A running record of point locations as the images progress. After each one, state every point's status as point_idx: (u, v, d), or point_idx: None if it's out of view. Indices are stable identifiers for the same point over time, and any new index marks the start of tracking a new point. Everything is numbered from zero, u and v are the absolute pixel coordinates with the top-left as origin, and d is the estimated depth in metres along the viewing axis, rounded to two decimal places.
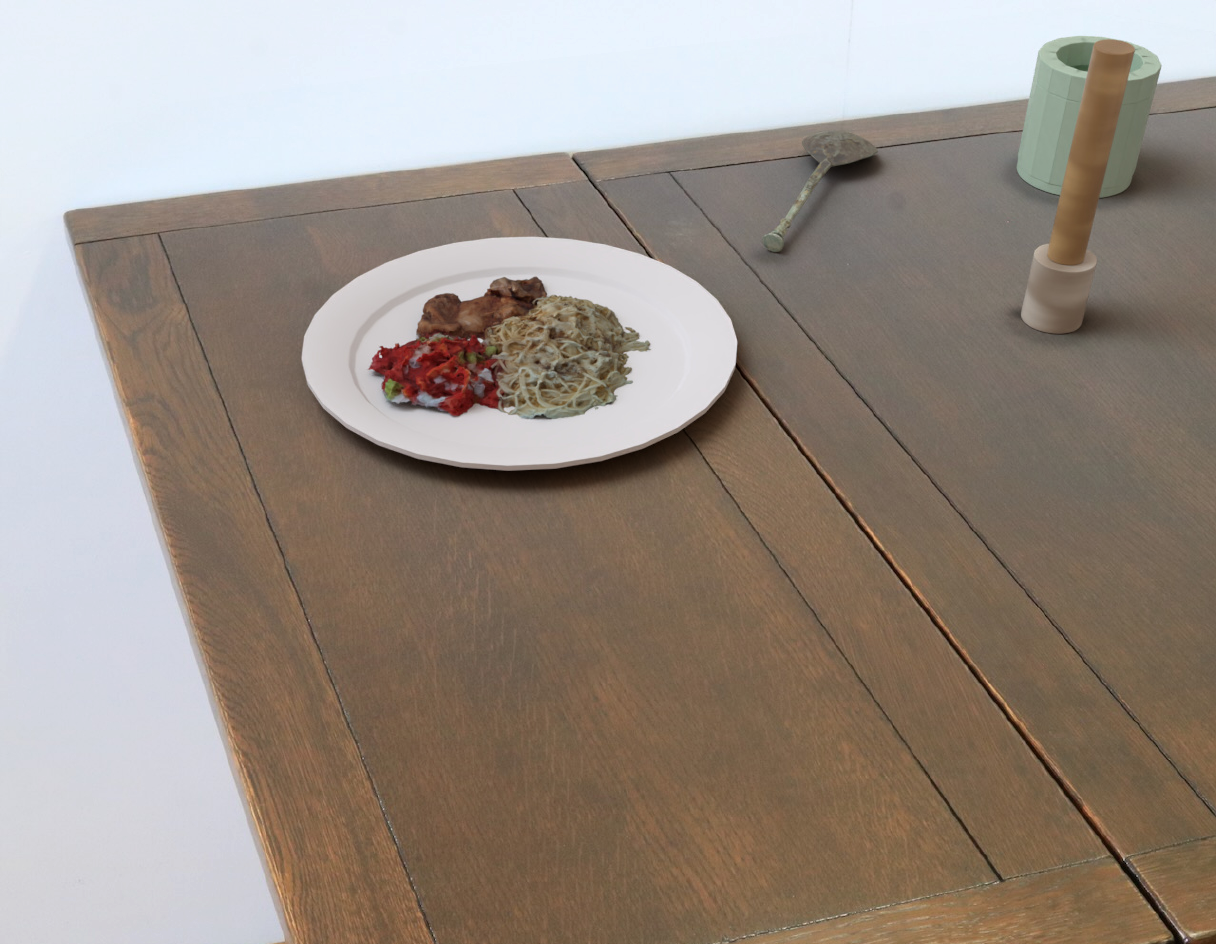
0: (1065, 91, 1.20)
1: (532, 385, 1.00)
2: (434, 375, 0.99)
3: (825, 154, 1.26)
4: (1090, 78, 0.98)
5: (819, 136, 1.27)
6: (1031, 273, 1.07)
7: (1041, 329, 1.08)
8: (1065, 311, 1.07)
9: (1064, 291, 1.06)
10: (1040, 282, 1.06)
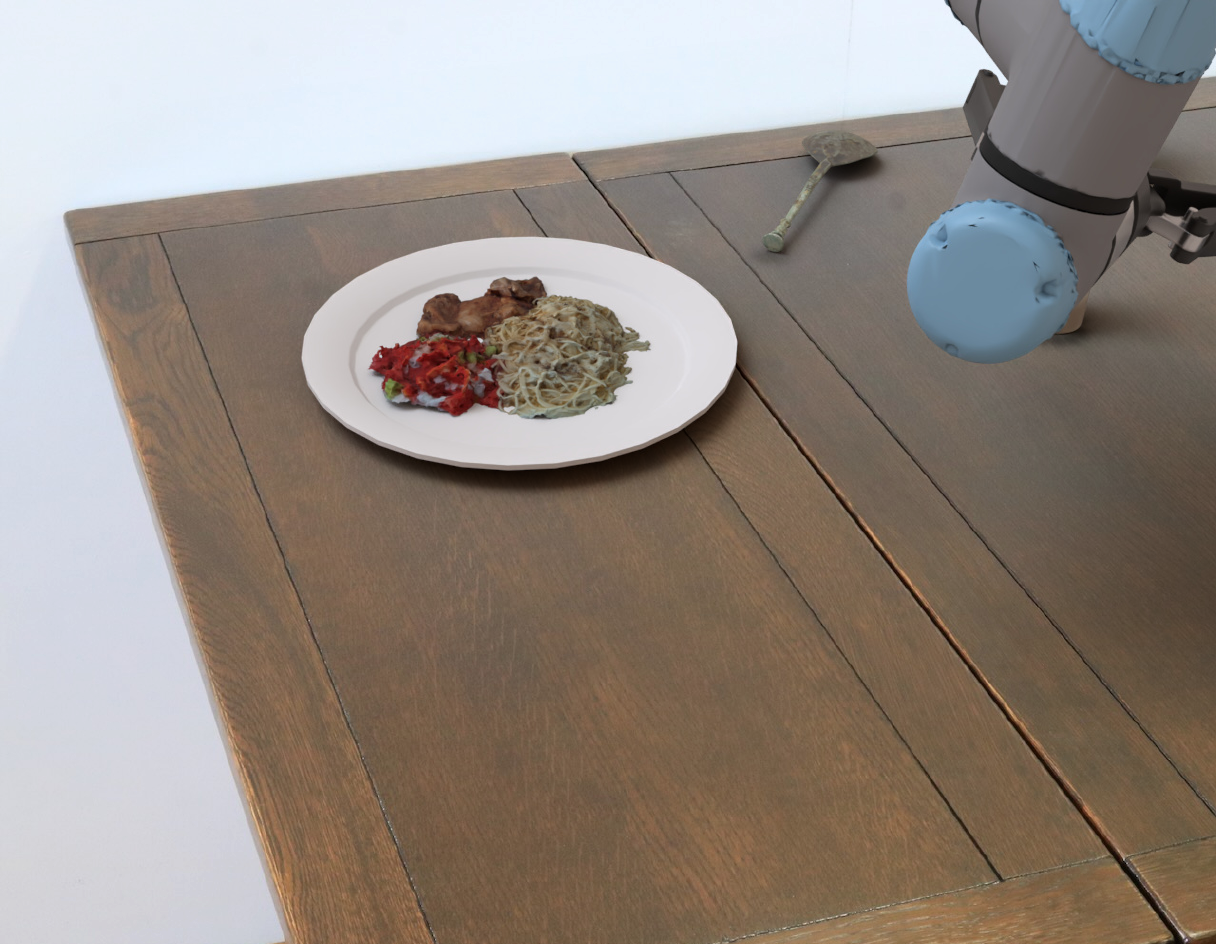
0: None
1: (532, 385, 1.00)
2: (434, 375, 0.99)
3: (825, 154, 1.26)
4: None
5: (819, 136, 1.27)
6: None
7: None
8: None
9: None
10: None
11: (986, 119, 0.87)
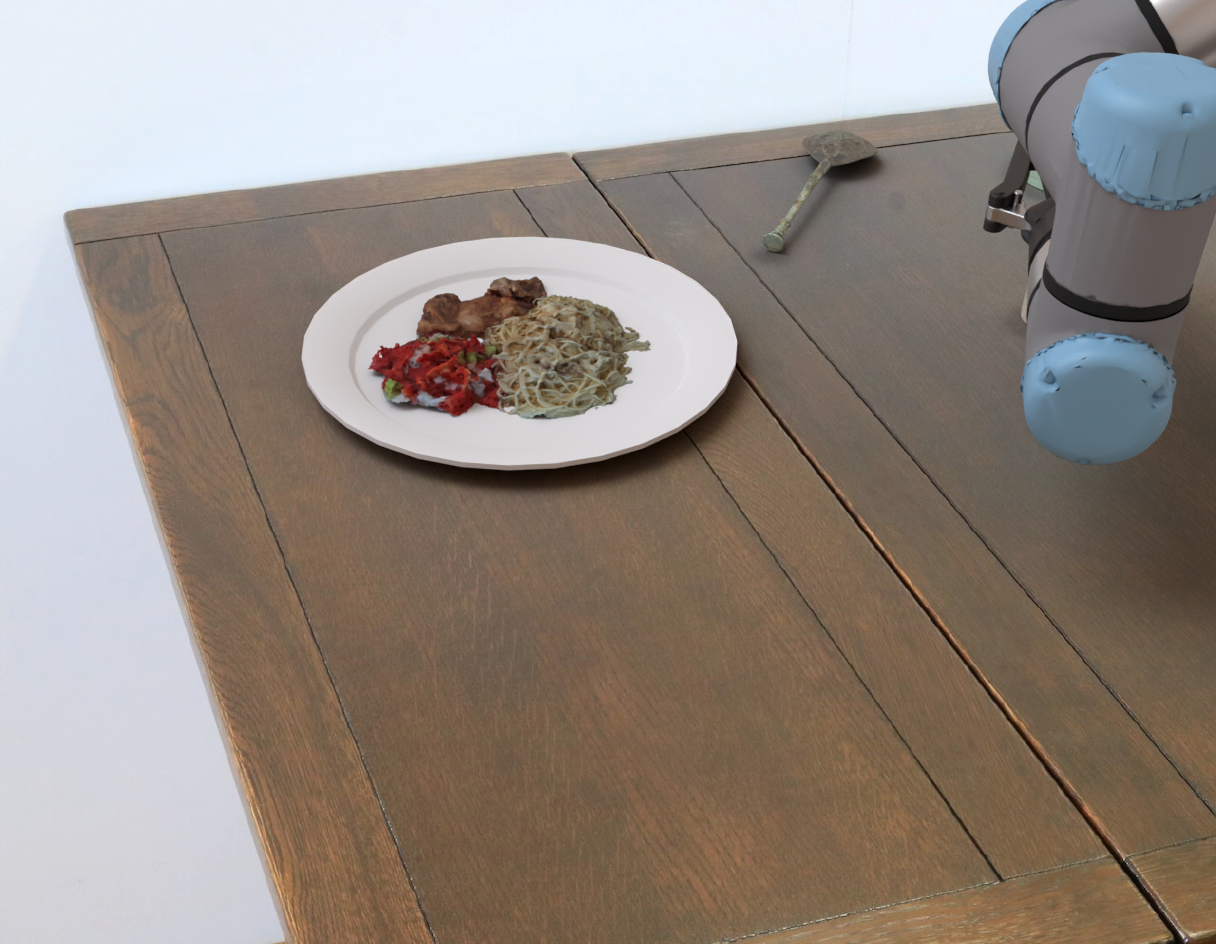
0: None
1: (532, 385, 1.00)
2: (434, 375, 0.99)
3: (825, 154, 1.26)
4: None
5: (819, 136, 1.27)
6: None
7: None
8: None
9: None
10: None
11: None
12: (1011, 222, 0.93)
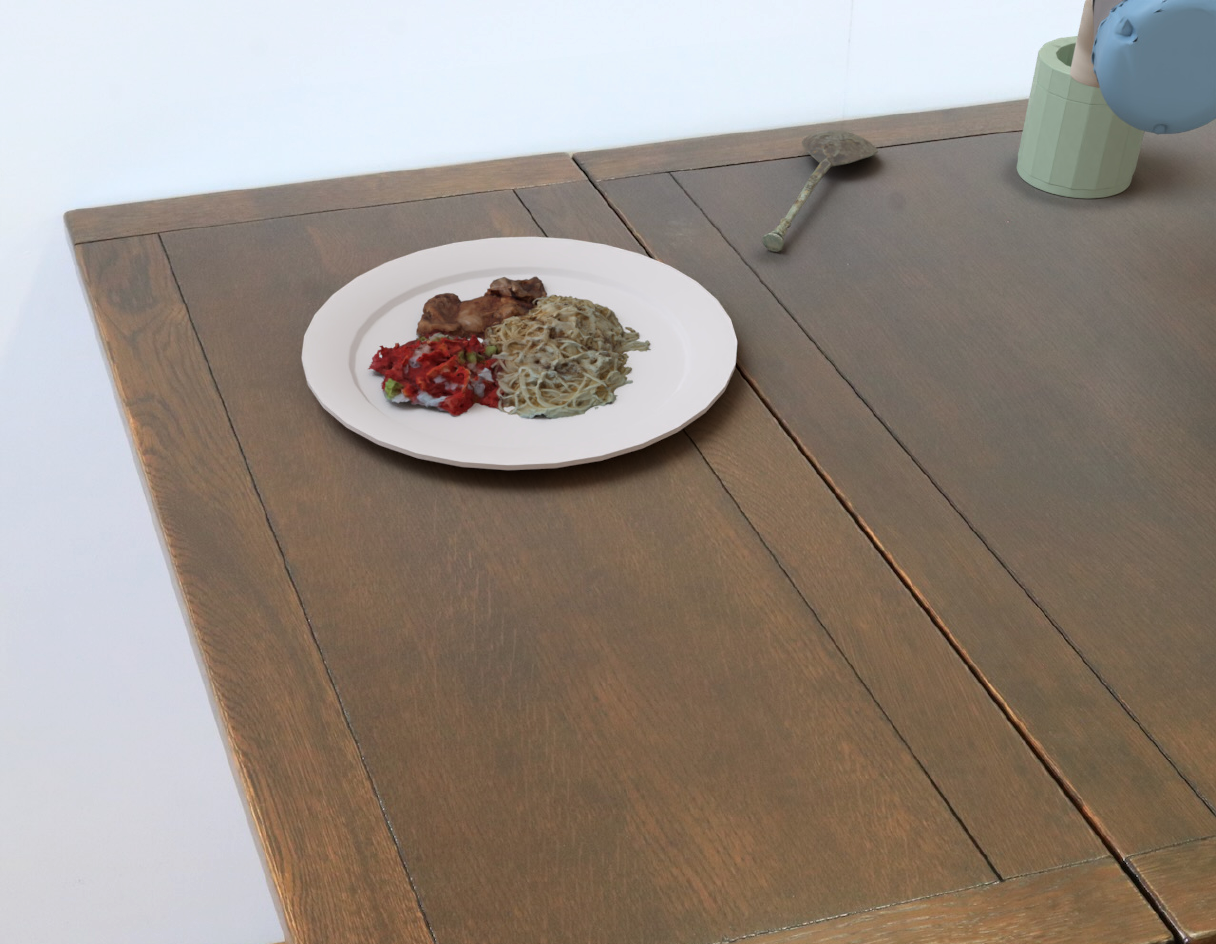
0: (1065, 91, 1.20)
1: (532, 385, 1.00)
2: (434, 375, 0.99)
3: (825, 154, 1.26)
4: None
5: (819, 136, 1.27)
6: (1082, 24, 1.04)
7: (1092, 84, 1.05)
8: None
9: None
10: (1091, 31, 1.03)
11: None
12: None
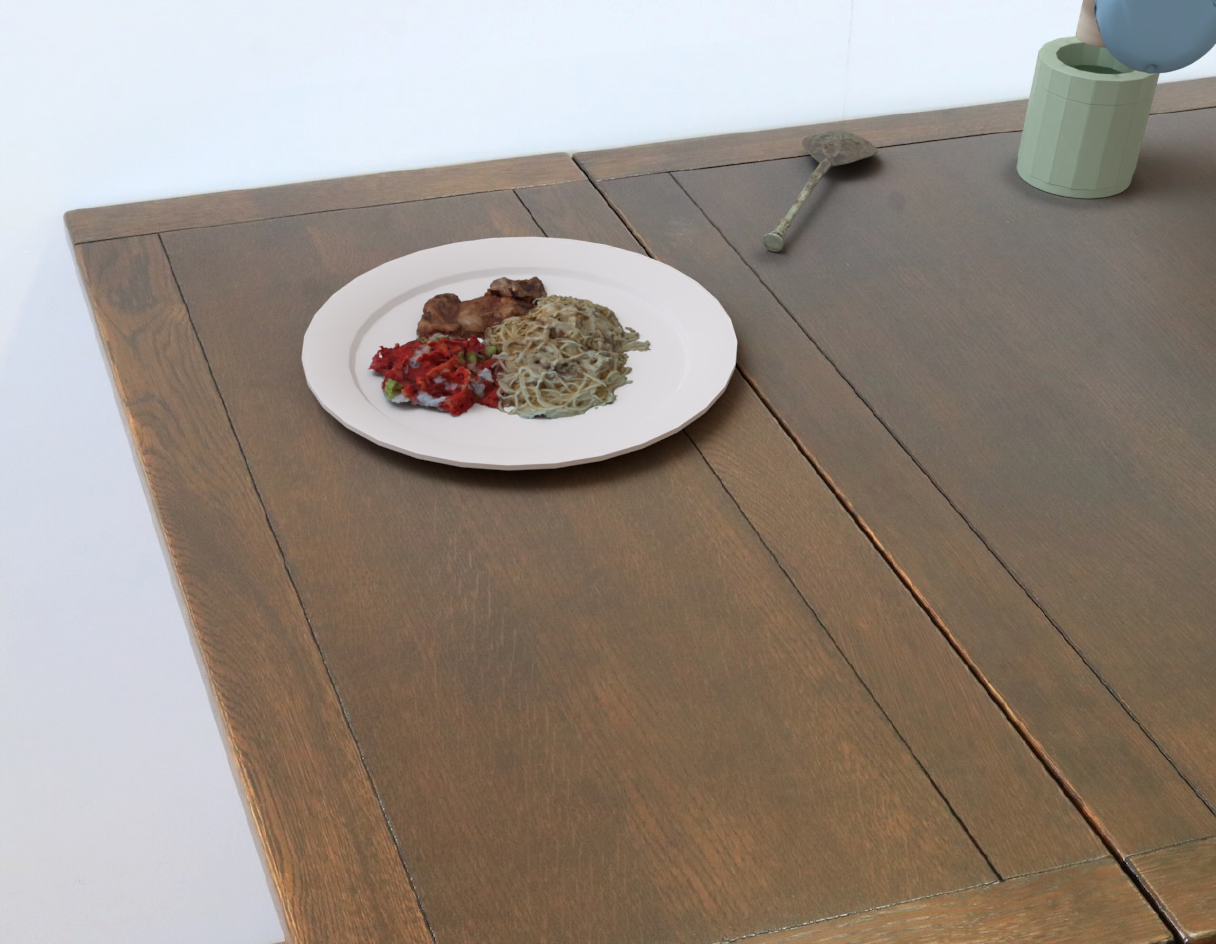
0: (1065, 91, 1.20)
1: (532, 385, 1.00)
2: (434, 375, 0.99)
3: (825, 154, 1.26)
4: None
5: (819, 136, 1.27)
6: None
7: (1095, 44, 1.19)
8: None
9: None
10: None
11: None
12: None
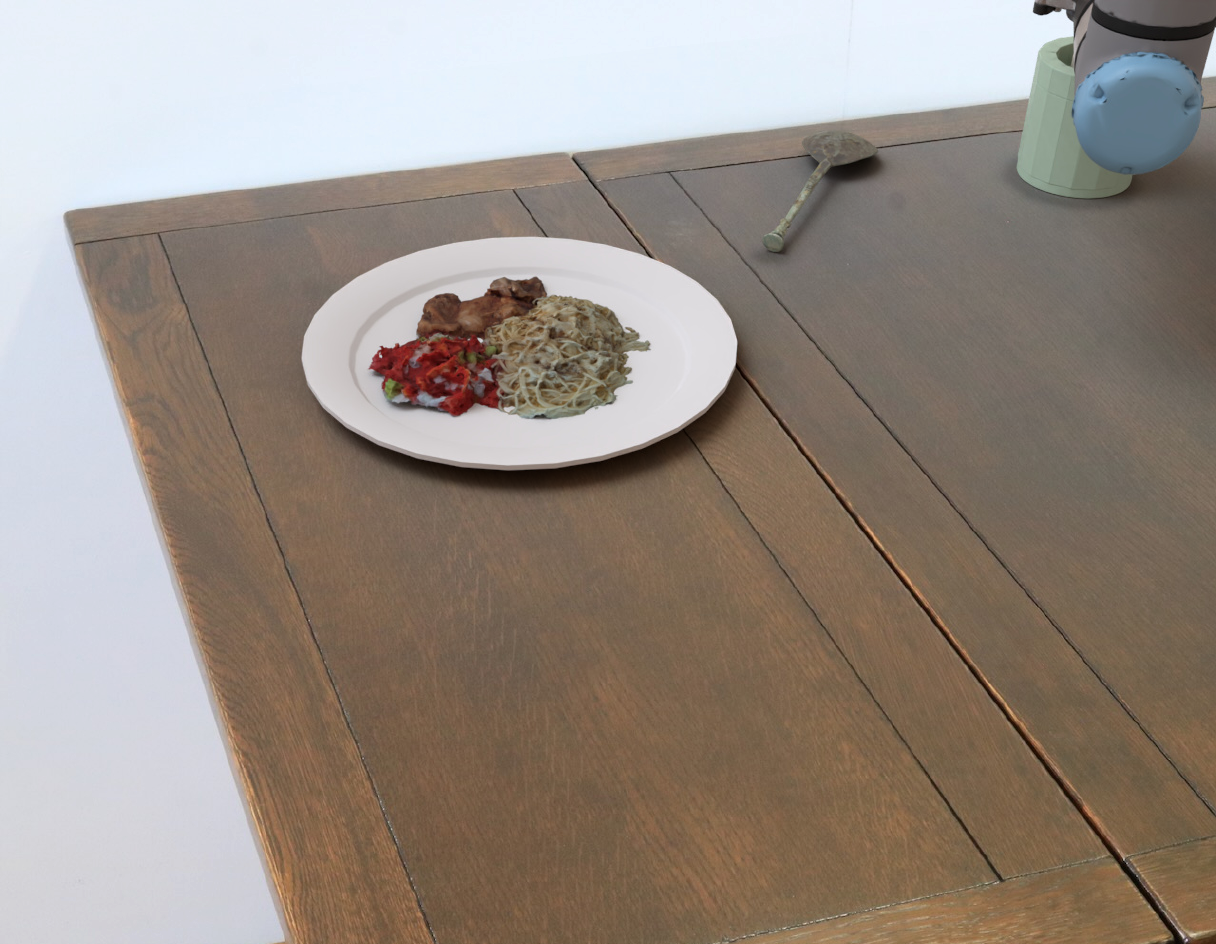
0: (1065, 91, 1.20)
1: (532, 385, 1.00)
2: (434, 375, 0.99)
3: (825, 154, 1.26)
4: None
5: (819, 136, 1.27)
6: None
7: None
8: None
9: None
10: None
11: None
12: (1057, 3, 1.09)
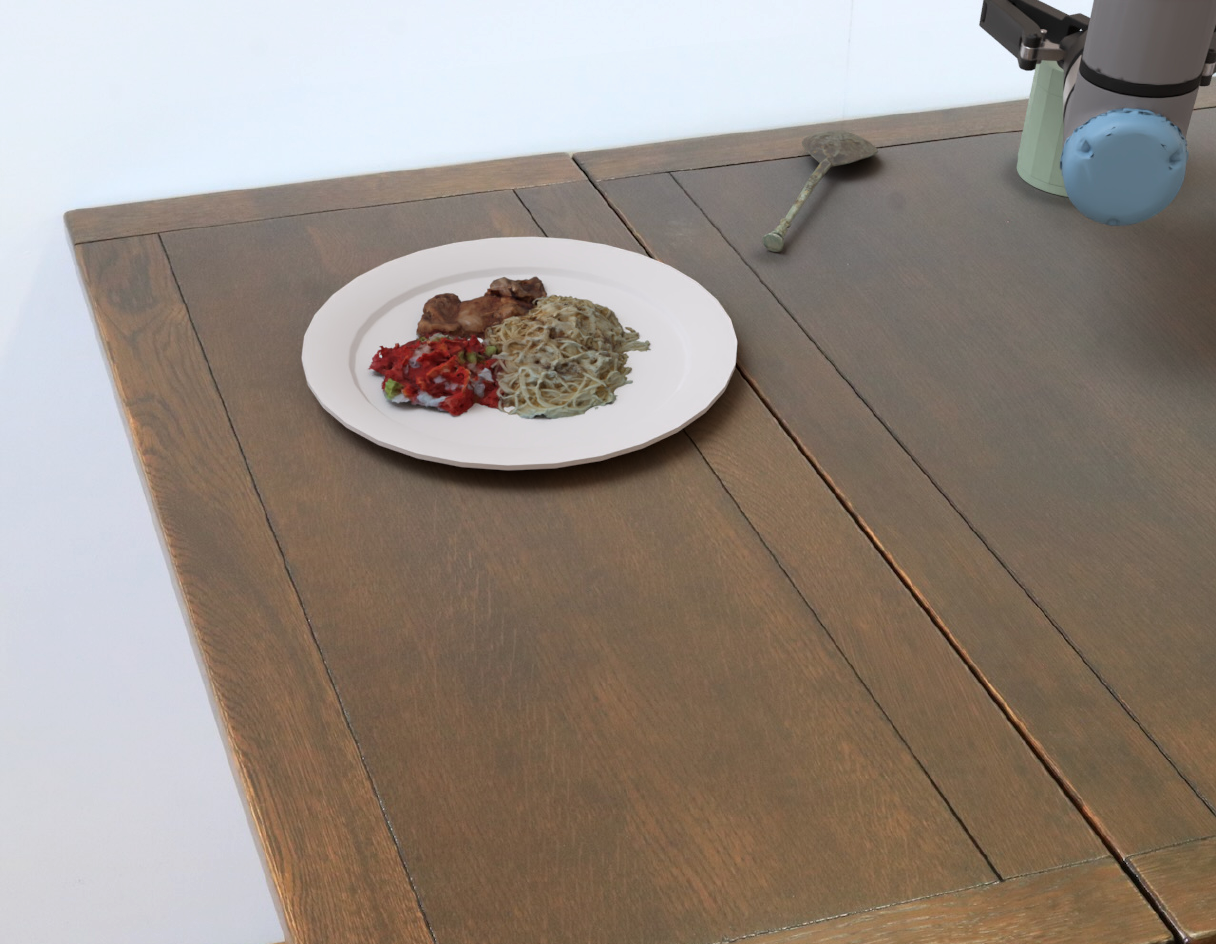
0: None
1: (532, 385, 1.00)
2: (434, 375, 0.99)
3: (825, 154, 1.26)
4: None
5: (819, 136, 1.27)
6: None
7: None
8: None
9: None
10: None
11: (1016, 33, 1.12)
12: (1049, 56, 1.10)
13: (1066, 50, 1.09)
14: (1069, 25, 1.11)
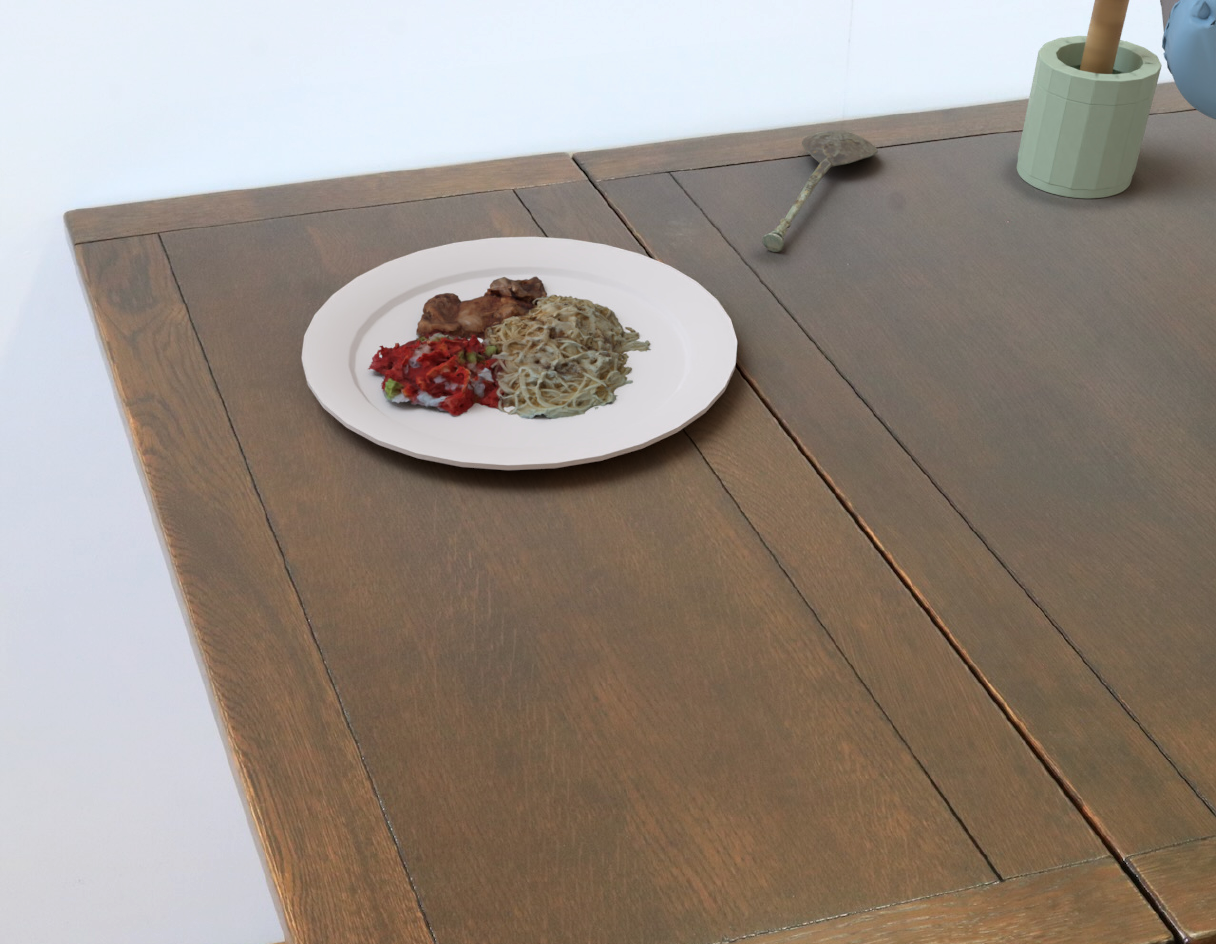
0: (1065, 91, 1.20)
1: (532, 385, 1.00)
2: (434, 375, 0.99)
3: (825, 154, 1.26)
4: None
5: (819, 136, 1.27)
6: None
7: None
8: None
9: None
10: None
11: None
12: None
13: None
14: None
